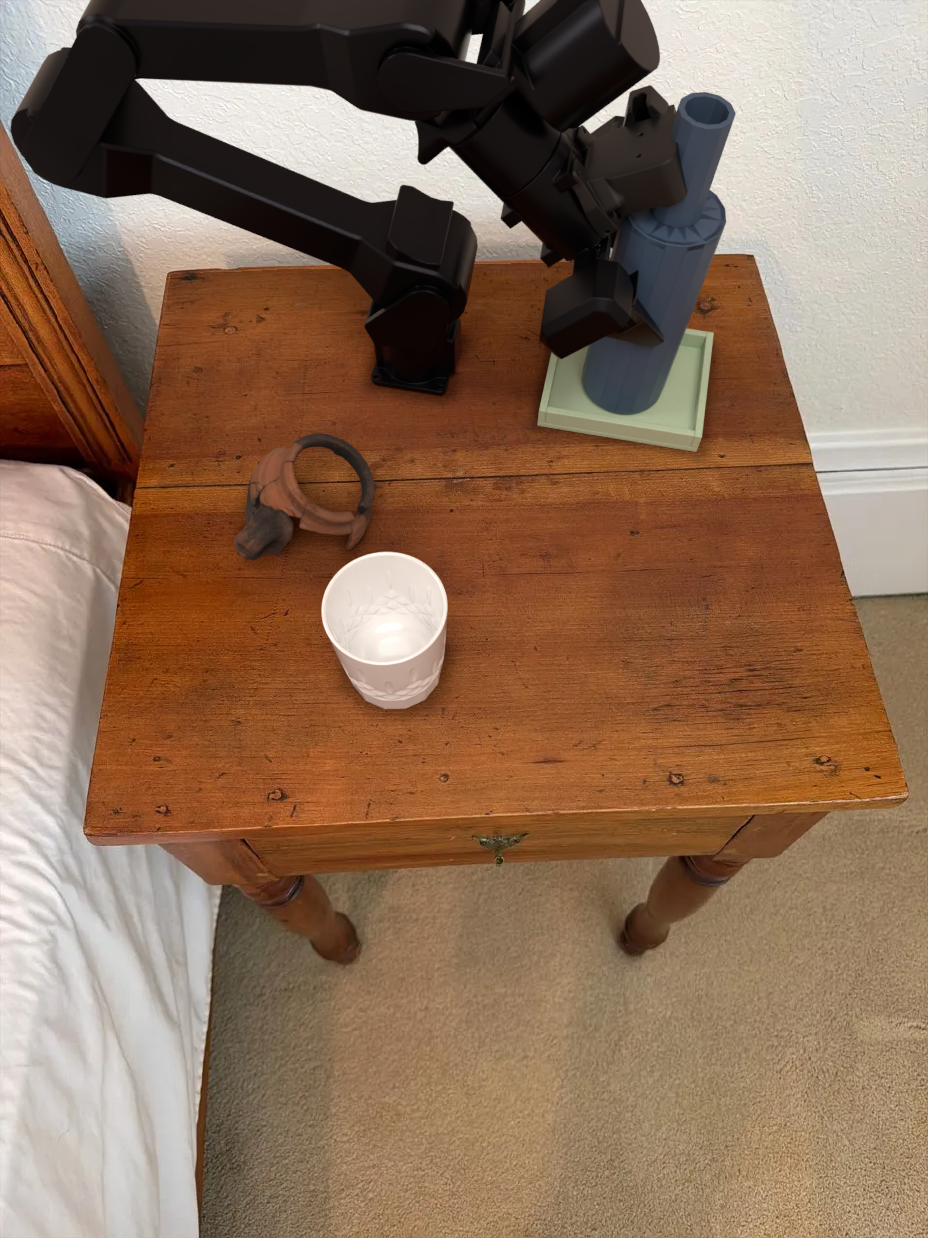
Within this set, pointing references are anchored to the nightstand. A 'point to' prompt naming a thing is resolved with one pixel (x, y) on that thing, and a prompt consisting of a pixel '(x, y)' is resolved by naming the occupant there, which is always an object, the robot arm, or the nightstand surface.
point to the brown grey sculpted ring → (298, 501)
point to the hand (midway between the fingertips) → (661, 306)
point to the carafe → (665, 262)
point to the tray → (661, 424)
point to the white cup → (388, 627)
